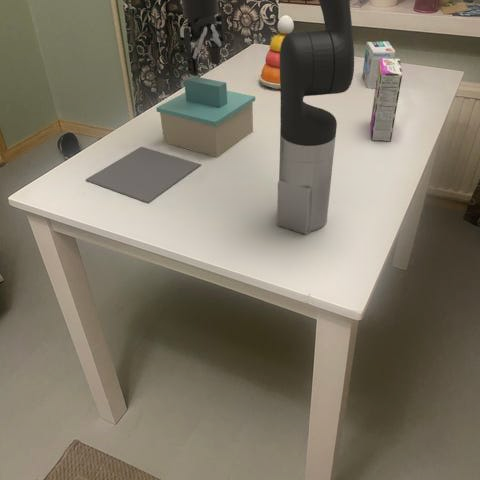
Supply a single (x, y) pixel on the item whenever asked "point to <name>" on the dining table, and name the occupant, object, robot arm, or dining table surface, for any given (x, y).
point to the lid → (206, 102)
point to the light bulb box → (375, 60)
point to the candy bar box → (385, 99)
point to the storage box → (208, 132)
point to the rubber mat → (143, 174)
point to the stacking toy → (275, 54)
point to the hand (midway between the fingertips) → (204, 68)
